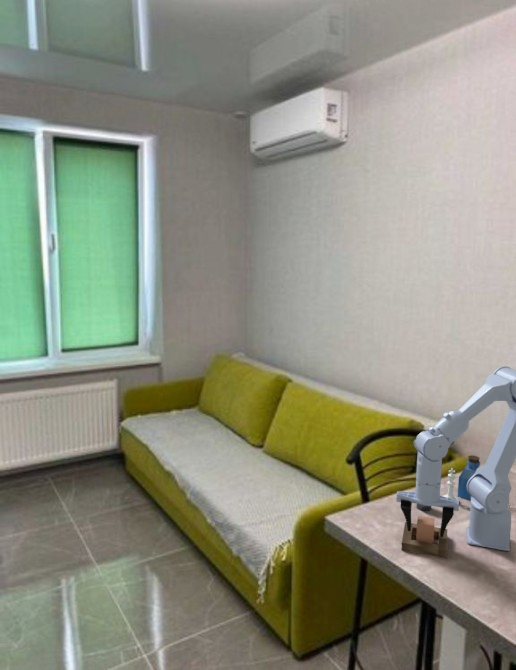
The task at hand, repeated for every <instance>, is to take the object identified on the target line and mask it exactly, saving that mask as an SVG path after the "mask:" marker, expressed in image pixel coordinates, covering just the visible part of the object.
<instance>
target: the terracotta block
mask: <svg viewBox="0 0 516 670" xmlns="http://www.w3.org/2000/svg"><path fill="white" fill-rule="evenodd" d="M416 524H417V535H415V539H416V540H415V541H420V542H425V543H431V544H434V539H435V538H434V527H435V517H434V518H433V517H429V516H428V517H427V516H421V515H417V522H416Z"/></svg>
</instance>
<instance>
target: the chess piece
mask: <svg viewBox="0 0 516 670" xmlns="http://www.w3.org/2000/svg"><path fill="white" fill-rule="evenodd" d="M455 473H456V470H454V469H453V468H452V467H451V468H450V469H449V470H448V474H447V477H448V481H447V482H446V483H447V485H448V489H447V494H445V495H443V496H444V497H447V498H450V499H454V500H459V497H458V496H455V495H454V489H453V488H454V487H453V486H455V485H456V482H454V479H455V478H456V475H455Z"/></svg>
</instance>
